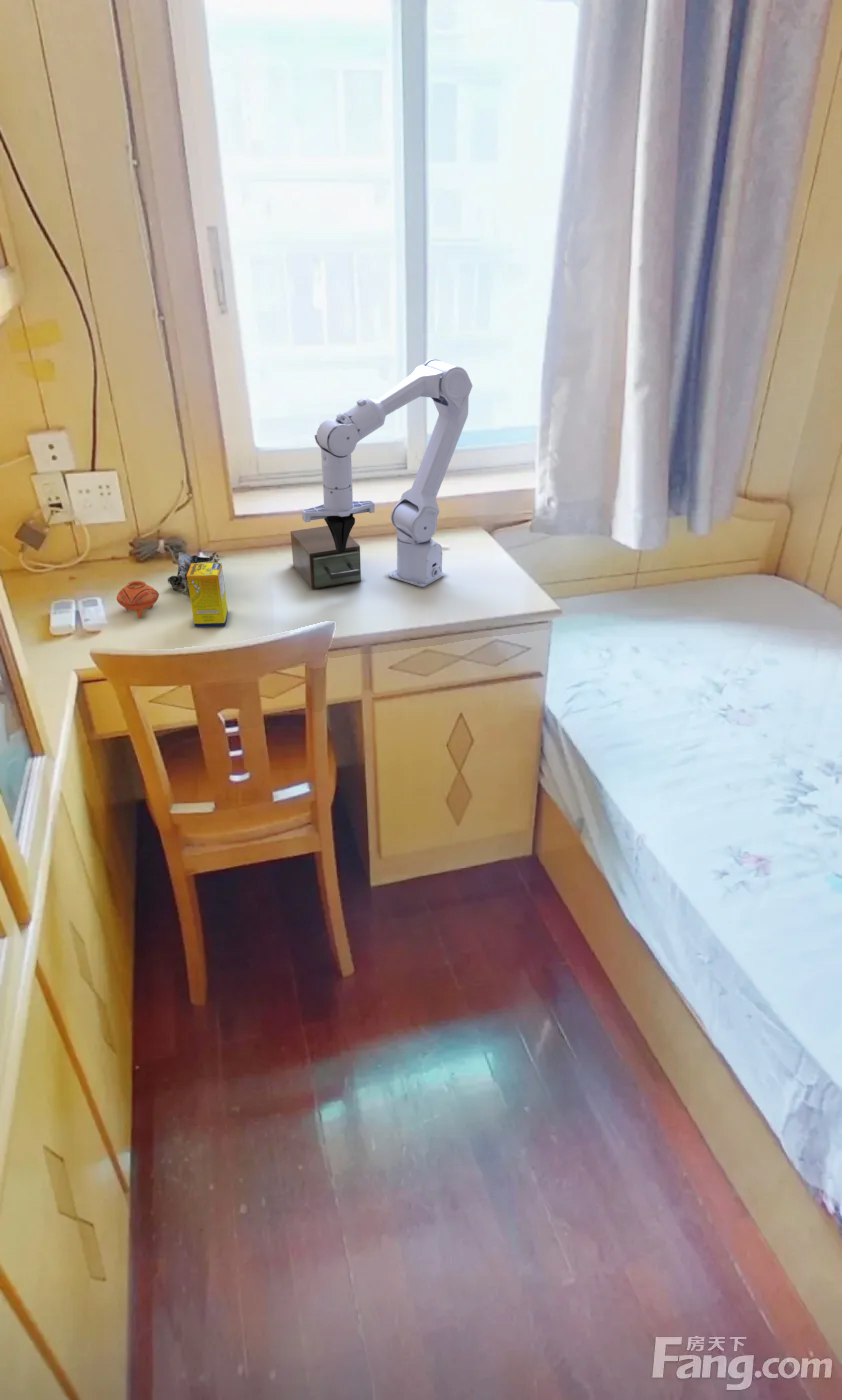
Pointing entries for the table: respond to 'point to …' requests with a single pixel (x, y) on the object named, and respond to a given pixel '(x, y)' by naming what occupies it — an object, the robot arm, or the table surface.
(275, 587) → the table surface
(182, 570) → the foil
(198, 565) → the supplement box
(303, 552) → the cabinet
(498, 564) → the table surface
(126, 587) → the pot
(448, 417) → the robot arm
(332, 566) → the drawer
